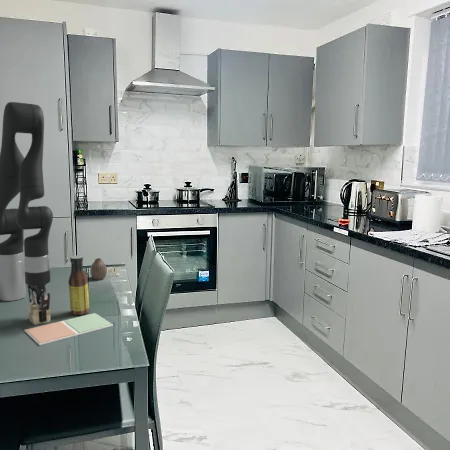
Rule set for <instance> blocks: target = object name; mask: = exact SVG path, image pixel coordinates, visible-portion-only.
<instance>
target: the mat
mask: <svg viewBox="0 0 450 450" xmlns="http://www.w3.org/2000/svg"><path fill="white" fill-rule="evenodd" d="M111 327H114V324H113V323H111V322H110V321H108V320H107V319H105V318H104V317H102V316H101V315H99V314H98V313H95V312H93V313H90V314H84V315H80V316H77V317H73V318H69V319H64V320H61V321H57V322H52V323H47V324H44V325H39V326H34V327H31V328H27V329H24V332H25V333H26V334H27V335H28V336H29V337H30V338H31V339H32V340H33V341H34V342H35V343H36V344H37V345H38V346H43V345H48V344H51V343H55V342H59V341H62V340H65V339H70V338H74V337H77V336H81V335H85V334H88V333H92V332H96V331H99V330H100V331H101V330H103V329H107V328H111Z"/></svg>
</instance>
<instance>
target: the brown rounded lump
mask: <svg viewBox="0 0 450 450" xmlns="http://www.w3.org/2000/svg"><path fill="white" fill-rule="evenodd" d="M89 271H90V277H91V278H92V279H93V280H96V281H100V280H104V279H105V278H106V276H107V273H108V268H107V265H106V263H104V261H103V260H102V258H100V257H99V258H95V260H94V262H93V263H92V264H91V266H90V270H89Z"/></svg>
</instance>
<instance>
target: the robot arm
mask: <svg viewBox="0 0 450 450" xmlns="http://www.w3.org/2000/svg"><path fill="white" fill-rule="evenodd" d="M42 109H43V108H42V107H41V106H40V105H38V104H33V103H26V102H18V101H17V102H16V101H15V102H14V101H8V102H7V103H6V104H5V106H4V109H3V110H4V111H3V115H2V117H3V118H2V129H1V130H2V132H1V133H2V134H1V146H0V236H5V235H10V236H9V237H8V238H7V239H6V240H3V241H2V242H0V301H3V302H4V301H5V302H12V301H18V300H22V299H24V298H26V296H27V293H28V300H29V301H28V302H29V303H31V304H30V305H35V304H37V305H38V311H39V322H45V321H47V314H46V310H49V306H50V304H51V303H50V301H51V300H50V299H51V293H50V292H48V291H47V287H46V286H47V284H49V283H50V282H51V264H50V261H51V260H50V256H49V236H50V232H51V231H50V230H51V228H52V226H53V225H52V224H53V219H54V213H53V211H52V209H51V208H50V207H49V206H47V205H46V206H45V205H42V206H41V205H40V206H38V205H37V206H29V203H30V202H31V201H35V200H40V199H42V198H44V197H45V183H44V172H43V170H44V169H43V159H44V158H43V157H44V141H45V140H44V137H45V117H44V112H43V111H44V110H42ZM17 133H18V134H29V135H31V144H30V147H29V149H28V152H27V153H26V155H25V157H24V155H23V153H22V152H21V150H20V149H19V146H18V145H17V142H16V135H17ZM18 195H19V203H18V208H16V207H15V208H14V207H13V208H7V207H8V205H9V204H10V203H11V201H13V200H14V199H15V197H17V196H18ZM24 230H25V231H27V230H39V231H38V233H36V234H33V235H30V236H26V238H25V237H24ZM26 287H27V291H26ZM43 305H44V307H43ZM50 307H51V306H50Z"/></svg>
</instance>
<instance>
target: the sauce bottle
mask: <svg viewBox="0 0 450 450" xmlns="http://www.w3.org/2000/svg"><path fill="white" fill-rule="evenodd" d="M83 261H84V256H83V255H71V257H70V261H69V262H70V265H71V267H70V274H69V278H68V293H69V295H68V296H69V308H70V312H71V314H72V315H74V316H83V315H87V314H88V313H89V312H90V298H89V297H90V295H89V281H88V275H87V273H86V272H85V270H84V266H83V265H84V263H83Z"/></svg>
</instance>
